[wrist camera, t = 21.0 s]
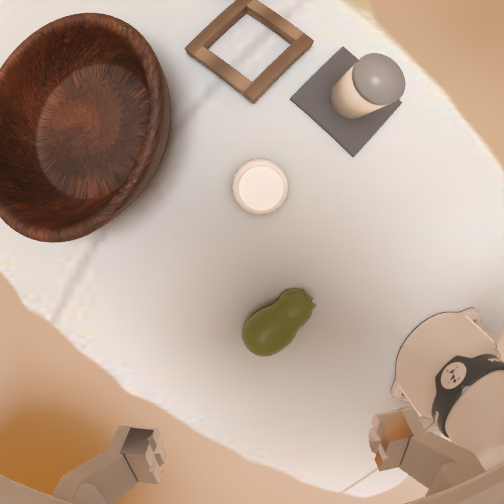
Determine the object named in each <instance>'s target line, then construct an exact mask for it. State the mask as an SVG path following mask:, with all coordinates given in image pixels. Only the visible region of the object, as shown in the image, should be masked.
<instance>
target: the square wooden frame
mask: <svg viewBox="0 0 504 504" xmlns="http://www.w3.org/2000/svg"><path fill="white" fill-rule="evenodd" d="M246 13H248V14H249V15H251V16H252V17H254V18H255V19H257V20H258V21H260V22H261V23H262V24H264V25H265V26H267V27H268V28H270V29H271V30H272V31H274V32H275V33H277V34H278V35H279V36H281V37H282V38H283V39H285V40H286V41H287V42H289V43H290V44H291V45H290V46H289V47H288V48H287V49H286V50H285V51H284V52H283V53H282V54H281V55H280V56H279V57H278V58H277V59H276V60H274V61H273V62H272V63H271V64H270V65H269V66H268V67H267V68H266V69H265V70H264V71H263V72H262V73H261V74H260V75H259V76H258V77H257V78H256V79H255V80H254V81H253V82H251V81H250V80H249V79H247V78H246V77H245V76H243V75H242V74H241V73H239V72H238V71H237V70H235V69H234V68H233V67H231V66H230V65H229V64H227V63H226V62H225V61H223V60H222V59H221V58H219V57H218V56H216V55H215V54H214V53H212V52H211V51H209V50H208V48H209V47H210V46H211V45H212V44H213V43H214V42H215V41H216V40H218V39H219V38H220V37H221V36H222V35H223V34H224V33H225V32H226V31H227V30H228V29H229V28H230V27H231V26H232V25H234V24H235V23H236V22H237V21H238V20H239V19H240V18H241V17H243V16H244V15H245V14H246ZM313 42H314V40H312V39H311V38H310V37H309V36H307V35H306V34H305V33H303V32H302V31H301V30H299V29H298V28H297V27H295V26H294V25H293V24H291V23H290V22H288V21H287V20H286V19H284V18H283V17H281V16H280V15H279V14H277V13H276V12H274V11H273V10H271V9H270V8H268V7H267V6H265V5H264V4H262V3H261V2H259V1H258V0H236V1H235V2H234V3H233V4H231V5H230V6H229V7H228V8H227V9H226V10H224V11H223V12H222V13H221V14H220V15H219V16H218V17H217V18H216V19H214V20H213V21H212V22H211V23H210V24H209V25H208V26H207V27H206V28H205V29H204V30H203V31H202V32H201V33H200V34H198V35H197V36H196V37H195V38H194V39H193V40H192V41H191V42H190V43H189V44H188V45H187V46H186V47H185V50H186V52H187V54H188V55H190V56H191V57H193V58H194V59H196V60H197V61H198V62H200V63H201V64H203V65H204V66H205V67H207V68H208V69H209V70H211V71H212V72H213V73H215V74H216V75H217V76H219V77H220V78H221V79H223V80H224V81H225V82H227V83H228V84H229V85H231V86H232V87H233V88H234V89H236V90H237V91H238V92H240V93H241V94H242V95H243V96H245V97H246V98H247V99H248V100H250V101H251V102H252V103H253V104H254V103H255V102H256V101H257V100H258V99H259V98H260V97H261V96H262V94H263V93H264V92H265V91H266V90H267V89H268V88H269V87H270V86H271V85H272V84H273V83H274V82H275V81H276V80H277V79H278V78H279V77H280V76H281V75H282V74H283V73H284V72H285V71H286V70H287V69H288V68H289V67H290V66H291V65H292V64H293V63H294V62H295V61H296V60H297V59H299V58H300V57H301V56H302V55H303V54H304V53H305V52H306V51H307V50H308V49H309V48H310V47H311V46H312V44H313Z"/></svg>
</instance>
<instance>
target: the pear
mask: <svg viewBox="0 0 504 504" xmlns="http://www.w3.org/2000/svg"><path fill="white" fill-rule="evenodd" d="M312 299H313V298H312V297H310V296H308V295H307V294H306V292H305V291H304V290H303V289H301V290H300V289H297V288H294V289H290V290H285V291H284V292H282V294H281V295H280V298H279V300H278V301H276V302H275V303H274V304H273V305H271V306H268V307H265V308H263V309H261V310H259V311H258V312H256V313H255V314H254V315H252V316H251V317H250V318H249V319H248V320H247V322H246V323H245V325H244V327H243V329H242V339H243V342H244V344H245V346H246V347H247V348H248V349H249V350H250V351H251V352H252V353H254V354H256V355H258V356H270V355H273V354H275V353H277V352H279V351H281V350H282V349H283V348H285V347H286V346H287V345H288V344H289V343H290V342H291V341H292V340H293V338H294V336H295V334H296V332H297V331H298V329H299V328H300V327H301V326H303V325H304V324H305V323H306V322H307V321H308V319H309V318H310V316H311V311H312V309H314V308H315V307H316V305H315V304H314V303H312V302H311V301H312Z"/></svg>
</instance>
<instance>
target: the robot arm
mask: <svg viewBox="0 0 504 504" xmlns="http://www.w3.org/2000/svg"><path fill="white" fill-rule="evenodd" d="M473 320H474V321H473ZM496 348H497V346H496V344H495V343H494V340H493V339H492V338H491V337H490V336H489V335H488V334H487V333H486V332H485V331H484V329H483V326H482V323H481V320H480V317H479V314H478V312H477V311H476V310H475V309H474V308H469V309H467V310H464V311H462V312H459V313H453V312H447V313H441V314H438V315H435V316H433V317H431V318H429V319H428V320H426V321H425V322H423V323H422V324H421V325H419V326H418V327H417V328H416V329H415V330H414V331H413V332H412V333H411V334H410V336H409V337H408V338H407V340H406V341H405V343H404V344H403V346H402V348H401V350H400V352H399V355H398V358H397V362H396V379H395V381H394V384H393V386H392V389H391V394H392V395H393V396H394V397H395V398H397V399H400V400H402V401H405V402H407V403H410V404H411V405H412V407H413V408H414V410H415V411H416V412H417V414H418V415H419V416H420V417H421V416H424V417H426V418H430V419H433V420H434V421H435V423H436V426H437V427H438V429H439V430H440V431H441V432H442V433H443V434H444V436H446V437H448V438H450V440H451V441H452V442H450V441H448V440H445V439H443V438H441V437H439V436H437V435H435V434H433V433H431V432H428V433H426V431H425V429H424V428H423V426H422V424H421V422H420V421H419V419H418V417H417V416H416V414H415V413H414V411H413V409H412V408H411V407H408V408H403V409H399V410H395V411H391V412H386V413H381V414H377V415H374V417H373V420H372V423H373V427H372V428H371V429H370V433H369V443H370V447H371V450H372V452H374V453H376V457H375V461H376V464H377V466H378V469H379V471H383V470H388V469H392V468H396V467H400V468H401V469H402V470H403V471H405V472H406V473H407V474H409V475H410V476H412V477H413V478H414V479H416V480H417V481H418V482H420V483H421V484H423V485H424V486H425V487H427V488H428V489H429V490H428V492H427V494H426V495H425V497H424V498H421V499H418V500H415V501H412V502H408V503H405V504H504V362H503V361H502V360H500V357H501V355H500V353H499V352H498V350H497V349H496ZM159 438H160V432H159V430H158V429H157V428H152V427H151V428H150V427H143V426H134V425H125V424H121V425H120V426H119V427H118V429H117V431H116V433H115V435H114V438H113V440H112V442H111V444H110V446H109V448H108V450H107V451H103V452H101V453H100V454H98V455H96V456H95V457H93V458H92V459H90V460H88V461H86V462H85V463H83V464H82V465H80V466H78V467H77V468H75V469H73V470H71V471H70V472H68V473H66V474H64V475H63V476H62V478H61V480H60V481H59V483H58V485H57V487H56V489H55V491H54V493H53V495H52V496H50V495H47V494H45V493H42V492H40V491H37V490H34V489H32V488H30V487H27V486H25V485H22V484H20V483H18V482H15V481H13V480H11V479H9V478H6V477H5V476H2V475H0V504H115V503H116V502H117V501H118V500H119V499H120V498H122V497H123V496H124V495H125V494H126V493H127V492H128V491H129V490H131V489H132V488H133V487H134V486H135V485H136V484H137V483H138V482H145V483H155V484H158V483H159V479H160V475H161V469H160V466H161V465H162V464H164V461H165V446H164V443H163V441H161V440H160V439H159Z"/></svg>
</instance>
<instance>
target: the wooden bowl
mask: <svg viewBox="0 0 504 504" xmlns="http://www.w3.org/2000/svg"><path fill="white" fill-rule="evenodd" d="M170 111H171V109H170V97H169V92H168V86H167V83H166V80H165V76H164V73H163V71H162V68H161V66H160V64H159V61H158V59H157V57H156V55H155V53H154V51H153V50H152V48H151V46H150V45H149V43H148V42H147V41H146V39H145V38H144V37H143V36H142V35H141V34H140V33H139V32H138V31H137V30H136V29H135V28H134V27H132V26H131V25H130V24H128V23H126V22H124V21H122V20H120V19H118V18H115V17H113V16H109V15H105V14H100V13H80V14H74V15H70V16H66V17H63V18H60V19H57V20H55V21H53V22H51V23H49V24H47V25H45V26H43V27H42V28H40V29H39V30H37V31H36V32H34V33H33V34H31V35H30V36H29V37H28V38H27V39H25V40H24V41H23V42H22V43H21V44H20V45H19V46H18V47H17V48H16V49H15V50H14V51H13V52H12V54H11V55H10V56H9V57H8V59H7V60H6V61H5V63H4V64H3V65H2V67H1V68H0V217H1V218H2V220H3V221H4V222H5V223H6V224H7V225H9V226H10V227H11V228H12V229H14V230H15V231H16V232H18V233H20V234H22V235H23V236H25V237H28V238H31V239H33V240H37V241H42V242H66V241H71V240H75V239H78V238H81V237H83V236H86V235H88V234H90V233H92V232H94V231H96V230H97V229H99V228H101V227H102V226H104V225H105V224H107V223H108V222H110V221H111V220H112V219H113V218H115V217H116V216H117V215H118V214H120V213H121V212H122V211H123V210H124V209H126V208H127V207H128V206H129V205H130V204H131V203H132V202H133V201H134V200H135V199H136V198H137V197H138V195H139V194H140V193H141V192H142V191H143V189H144V188H145V187H146V185H147V184H148V182H149V181H150V179H151V178H152V176H153V174H154V173H155V171H156V169H157V167H158V165H159V163H160V161H161V158H162V155H163V153H164V150H165V146H166V143H167V139H168V134H169V128H170Z"/></svg>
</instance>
